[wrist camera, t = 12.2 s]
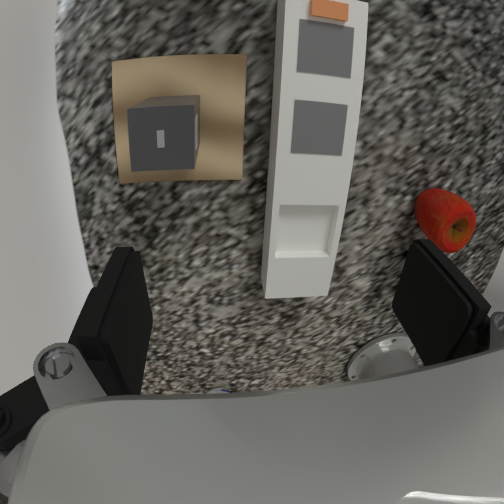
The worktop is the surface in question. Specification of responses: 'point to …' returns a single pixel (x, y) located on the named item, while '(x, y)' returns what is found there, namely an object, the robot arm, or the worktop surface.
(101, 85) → the worktop surface
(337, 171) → the power strip
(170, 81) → the coaster
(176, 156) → the block
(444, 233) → the apple
